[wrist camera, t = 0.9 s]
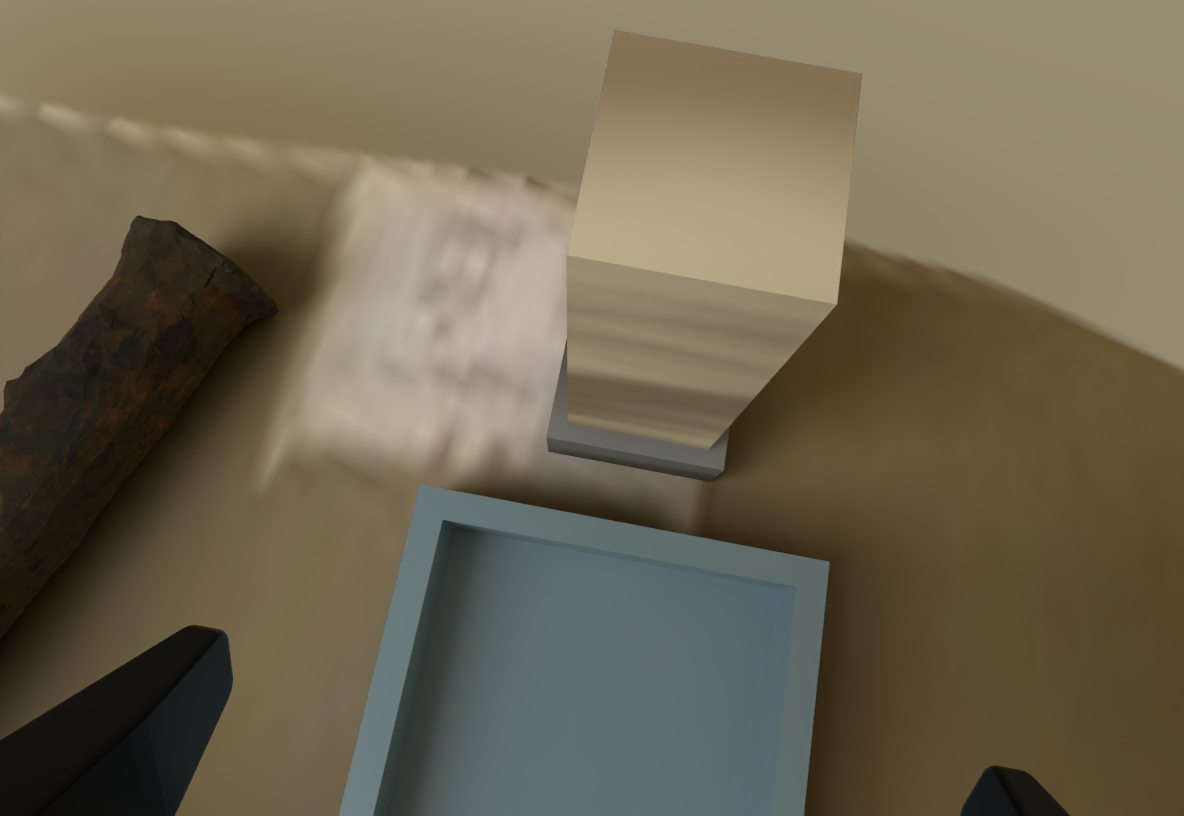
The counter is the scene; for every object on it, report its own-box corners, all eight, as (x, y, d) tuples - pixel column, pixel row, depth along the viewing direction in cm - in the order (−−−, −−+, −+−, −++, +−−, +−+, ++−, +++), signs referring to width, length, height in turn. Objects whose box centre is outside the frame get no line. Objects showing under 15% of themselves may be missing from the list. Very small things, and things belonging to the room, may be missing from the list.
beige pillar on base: (710, 482, 23) (868, 342, 11) (548, 451, 23) (526, 279, 11) (732, 329, 24) (895, 53, 12) (578, 301, 24) (588, -2, 12)
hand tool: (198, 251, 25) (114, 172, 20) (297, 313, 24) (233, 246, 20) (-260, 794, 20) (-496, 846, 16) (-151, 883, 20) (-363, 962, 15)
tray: (754, 994, 20) (779, 1049, 17) (337, 911, 20) (305, 953, 17) (801, 566, 22) (829, 561, 20) (436, 497, 23) (420, 484, 20)
